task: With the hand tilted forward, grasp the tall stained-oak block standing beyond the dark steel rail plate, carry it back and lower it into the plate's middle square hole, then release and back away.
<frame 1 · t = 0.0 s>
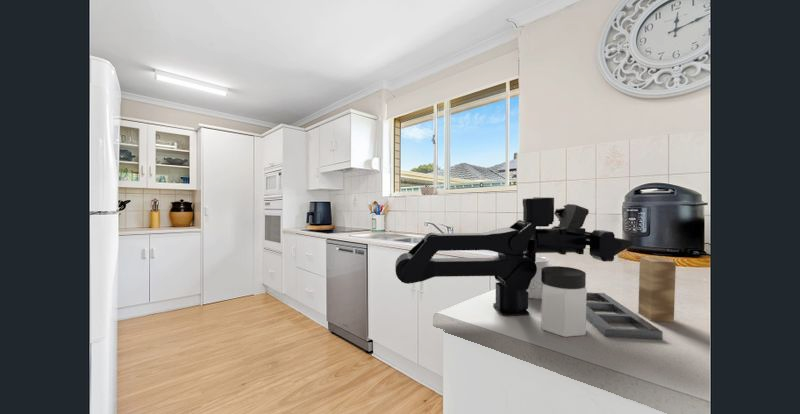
hand: (617, 239, 75), 17 cm above the counter, tool horizontal, fingers open, 9 cm apart
jar: (561, 329, 65), on the counter
white cup: (531, 295, 87), on the counter
rail plate: (604, 314, 72), on the counter
oak block: (655, 317, 71), on the counter
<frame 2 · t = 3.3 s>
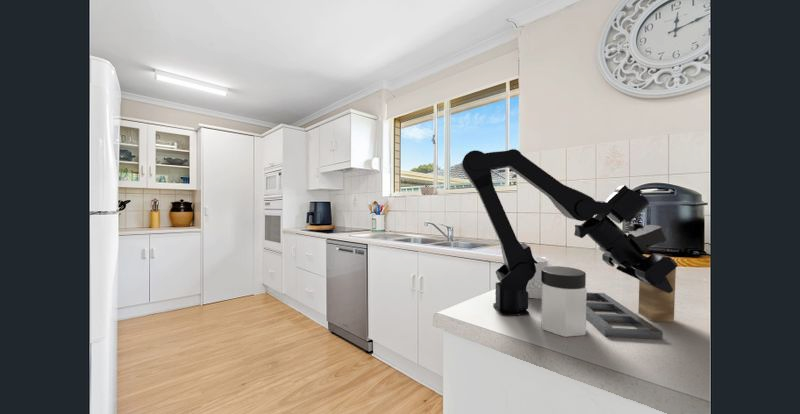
hand: (663, 288, 70), 7 cm above the counter, tool tilted 45°, fingers closed on oak block, 4 cm apart
oak block: (655, 317, 71), on the counter, touching gripper
everything else where it was.
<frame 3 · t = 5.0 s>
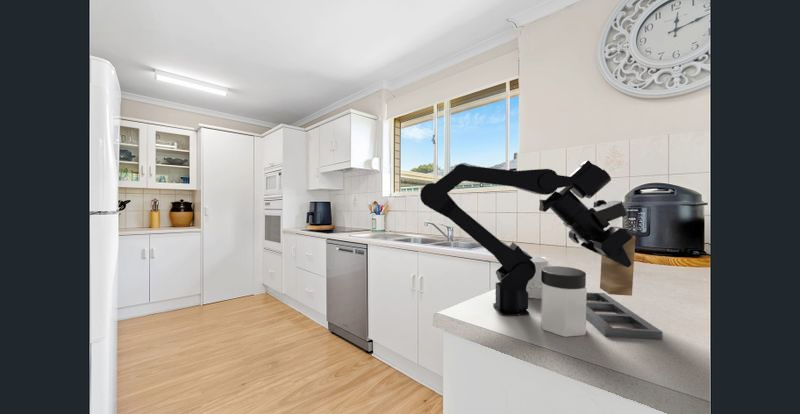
hand: (623, 263, 71), 12 cm above the counter, tool tilted 45°, fingers closed on oak block, 4 cm apart
oak block: (615, 291, 72), point 5 cm above the counter, touching gripper
everything else where it was.
when the fingers open (8 cm above the counter, at t = 6.6 s): oak block drops 1 cm, resting in rail plate.
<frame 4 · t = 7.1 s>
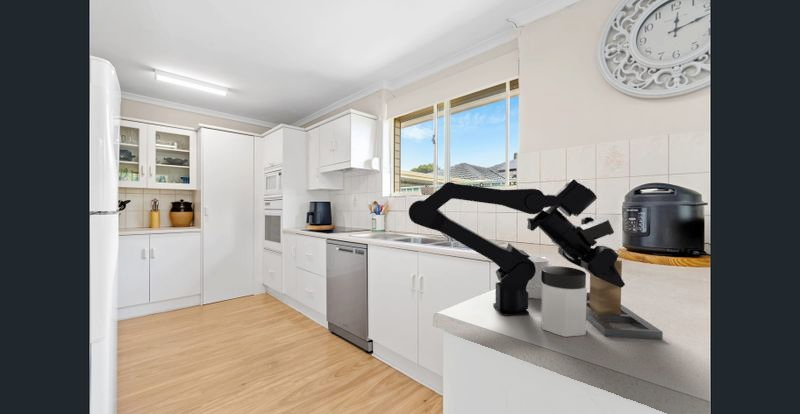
hand: (612, 280, 71), 8 cm above the counter, tool tilted 45°, fingers open, 9 cm apart
oak block: (604, 314, 72), resting in rail plate
everything else where it was.
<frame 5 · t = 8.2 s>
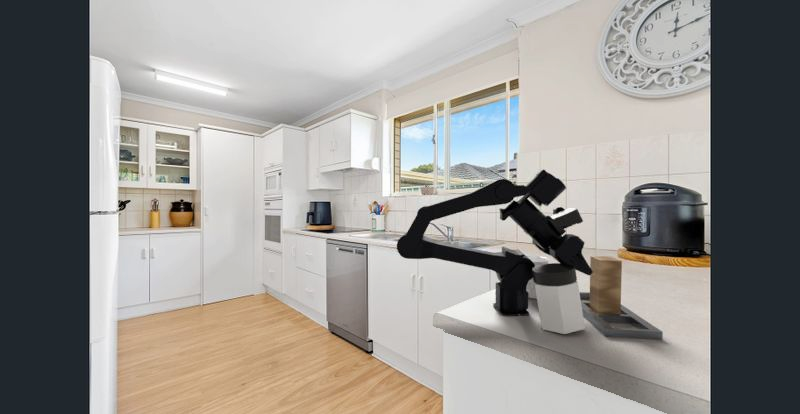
hand: (582, 268, 72), 10 cm above the counter, tool tilted 45°, fingers open, 9 cm apart
jar: (561, 326, 65), on the counter, touching gripper
everything else where it was.
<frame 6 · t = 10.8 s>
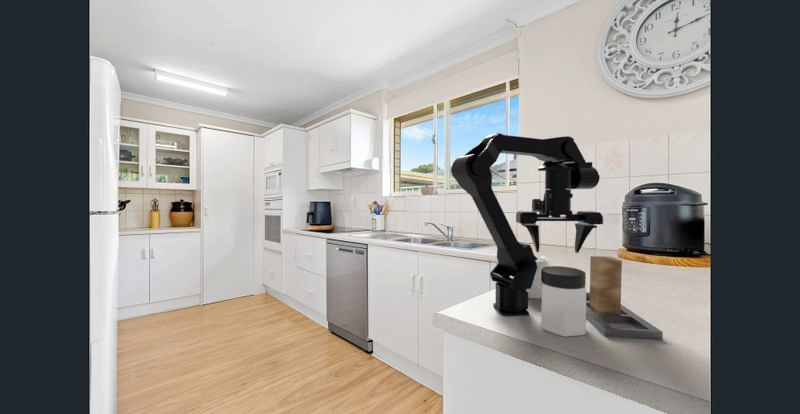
hand: (556, 252, 79), 13 cm above the counter, tool pointing down, fingers open, 9 cm apart
jar: (561, 328, 66), on the counter
everything else where it was.
at the end: oak block 0.0 cm off-centre on the rail plate, point 0.0 cm above the rail plate's base; oak block tilted 0°; the gripper is holding nothing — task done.
